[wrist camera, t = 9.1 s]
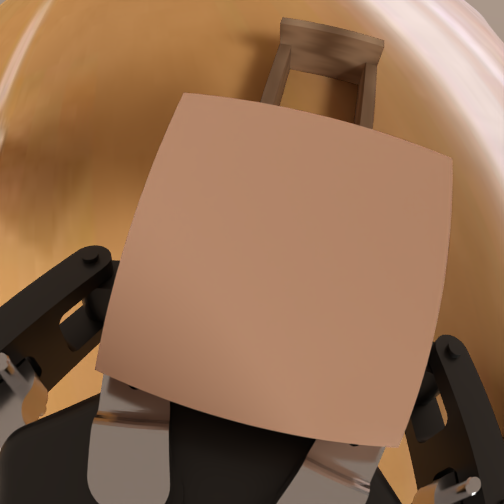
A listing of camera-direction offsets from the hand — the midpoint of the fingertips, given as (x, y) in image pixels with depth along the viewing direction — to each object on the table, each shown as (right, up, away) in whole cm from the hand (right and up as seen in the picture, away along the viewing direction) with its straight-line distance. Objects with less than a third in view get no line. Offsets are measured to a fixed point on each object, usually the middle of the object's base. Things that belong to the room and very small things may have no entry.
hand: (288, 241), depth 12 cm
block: (0, -3, +6) cm, 7 cm away
